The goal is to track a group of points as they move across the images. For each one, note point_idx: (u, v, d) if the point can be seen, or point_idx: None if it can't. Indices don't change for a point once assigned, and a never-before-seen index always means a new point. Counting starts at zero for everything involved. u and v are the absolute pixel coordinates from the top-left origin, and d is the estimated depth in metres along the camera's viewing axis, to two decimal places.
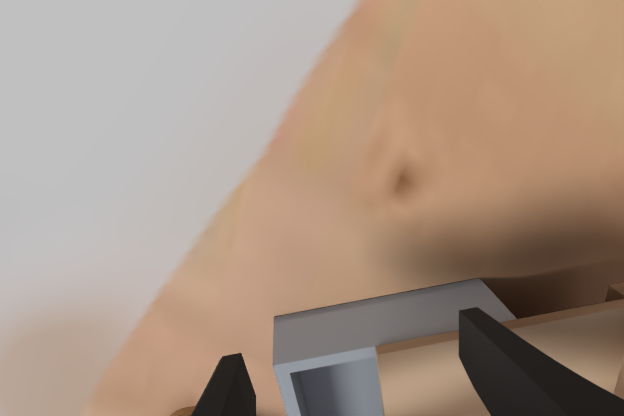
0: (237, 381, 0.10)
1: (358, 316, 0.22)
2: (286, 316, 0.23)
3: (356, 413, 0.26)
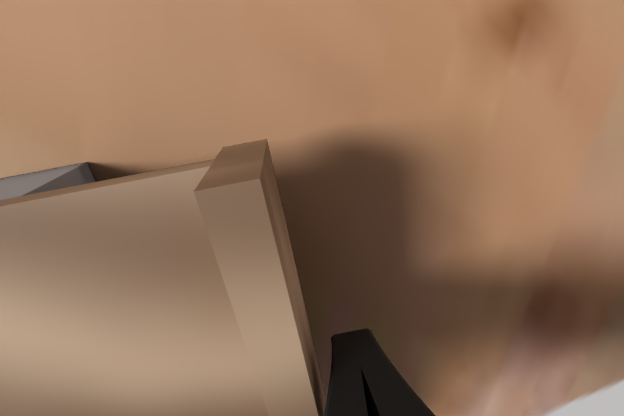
0: None
1: None
2: None
3: None
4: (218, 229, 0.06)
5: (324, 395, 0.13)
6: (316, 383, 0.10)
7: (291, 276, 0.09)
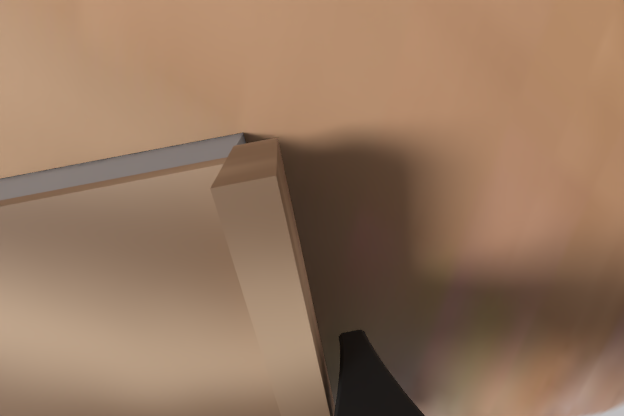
0: None
1: None
2: None
3: None
4: (234, 226, 0.06)
5: (331, 393, 0.13)
6: (325, 381, 0.10)
7: (302, 274, 0.09)
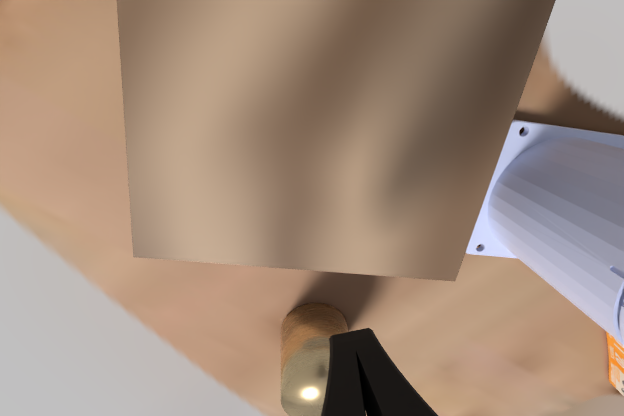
0: None
1: None
2: None
3: None
4: None
5: None
6: None
7: None
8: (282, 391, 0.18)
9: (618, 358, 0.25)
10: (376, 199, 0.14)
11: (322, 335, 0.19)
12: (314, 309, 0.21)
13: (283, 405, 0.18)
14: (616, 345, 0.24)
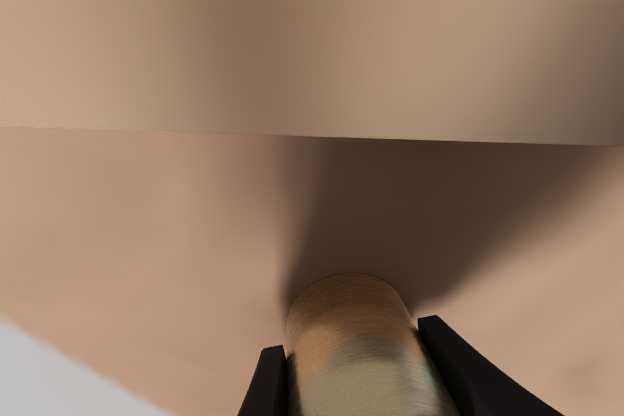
0: (282, 372, 0.10)
1: None
2: None
3: None
4: None
5: None
6: None
7: None
8: None
9: None
10: None
11: (369, 334, 0.09)
12: (345, 284, 0.11)
13: None
14: None
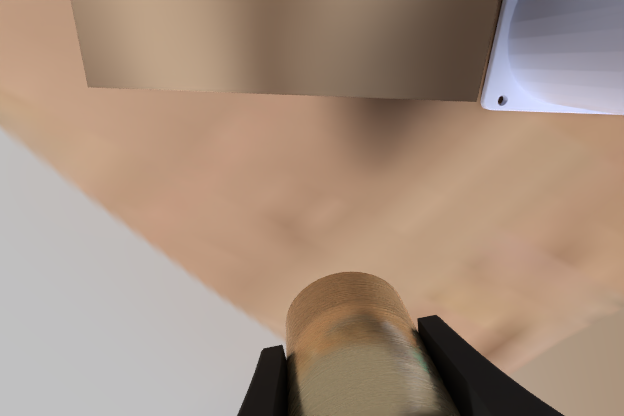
0: (282, 372, 0.10)
1: None
2: None
3: None
4: None
5: None
6: None
7: None
8: None
9: None
10: None
11: (368, 332, 0.09)
12: (344, 283, 0.11)
13: None
14: None
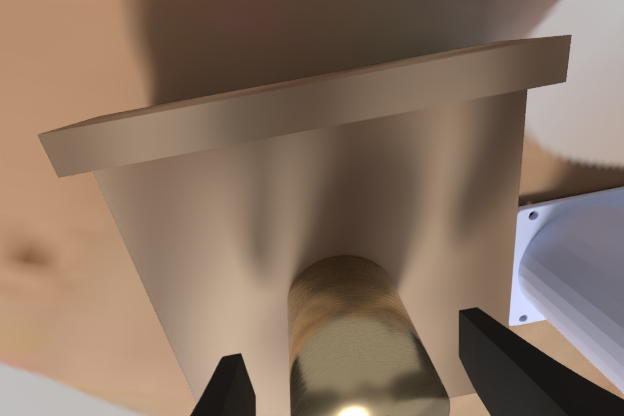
0: (237, 381, 0.10)
1: None
2: None
3: None
4: (84, 164, 0.09)
5: (372, 65, 0.12)
6: (293, 83, 0.10)
7: (171, 106, 0.10)
8: None
9: None
10: None
11: (358, 306, 0.10)
12: (338, 265, 0.12)
13: None
14: None
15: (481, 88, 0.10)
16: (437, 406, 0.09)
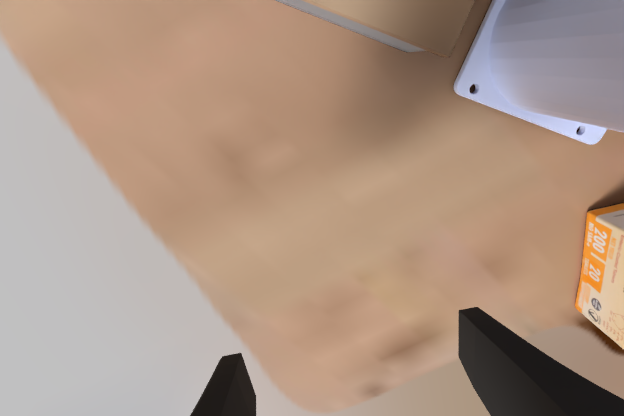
0: (237, 381, 0.10)
1: None
2: None
3: None
4: None
5: None
6: None
7: None
8: None
9: (593, 270, 0.22)
10: None
11: None
12: None
13: None
14: (593, 253, 0.22)
15: None
16: None
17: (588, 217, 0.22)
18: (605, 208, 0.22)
